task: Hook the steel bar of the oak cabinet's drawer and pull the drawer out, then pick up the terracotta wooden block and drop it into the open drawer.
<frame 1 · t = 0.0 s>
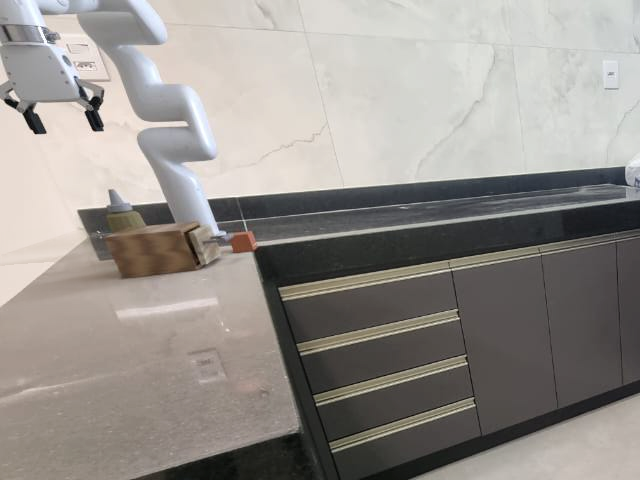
hand: (70, 132, 111), 31 cm above the counter, tool pointing down, fingers open, 9 cm apart
drawer: (188, 245, 130), point 5 cm above the counter, slide at 1.0 cm
squeeze bottle: (143, 260, 140), on the counter
block: (246, 250, 146), on the counter
cabinet: (171, 267, 131), on the counter
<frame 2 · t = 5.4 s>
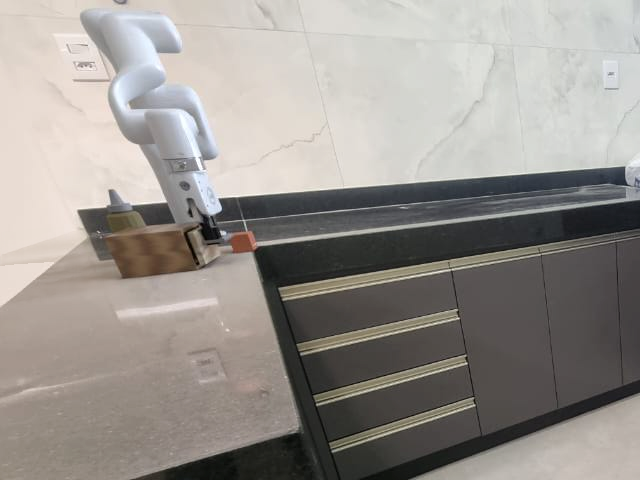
hand: (215, 243, 132), 5 cm above the counter, tool pointing down, fingers closed
nothing on the counter moved.
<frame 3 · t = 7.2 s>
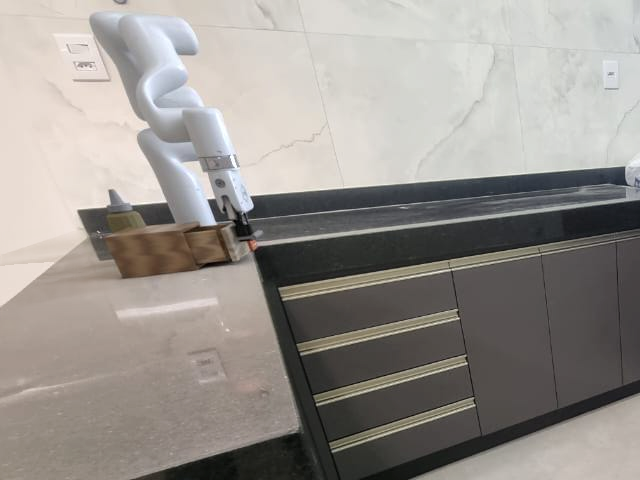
hand: (247, 240, 134), 5 cm above the counter, tool pointing down, fingers closed
drawer: (218, 242, 132), point 5 cm above the counter, slide at 7.5 cm, touching gripper
everything else where it was.
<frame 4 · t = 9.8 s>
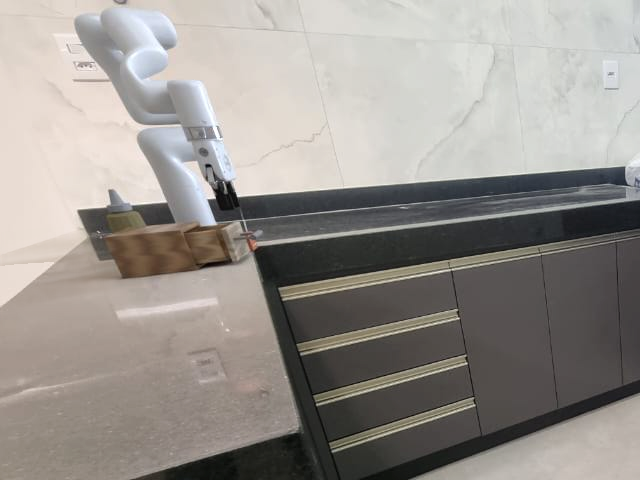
hand: (230, 208, 141), 11 cm above the counter, tool pointing down, fingers open, 4 cm apart
drawer: (218, 242, 132), point 5 cm above the counter, slide at 7.5 cm
everything else where it was.
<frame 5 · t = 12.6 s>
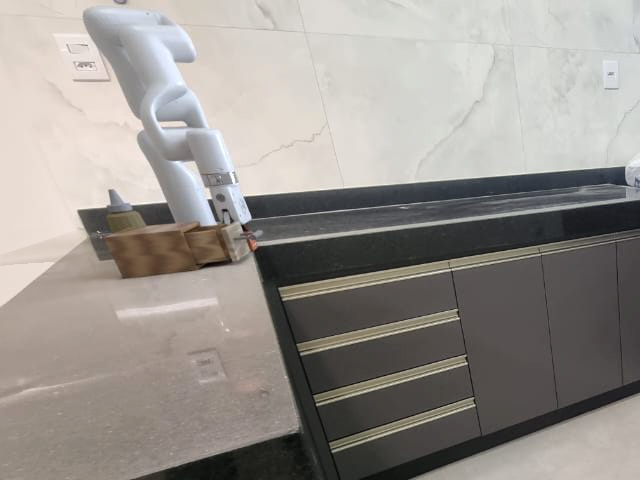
hand: (245, 248, 146), 0 cm above the counter, tool pointing down, fingers closed on block, 4 cm apart
block: (246, 250, 146), on the counter, touching gripper
everything else where it was.
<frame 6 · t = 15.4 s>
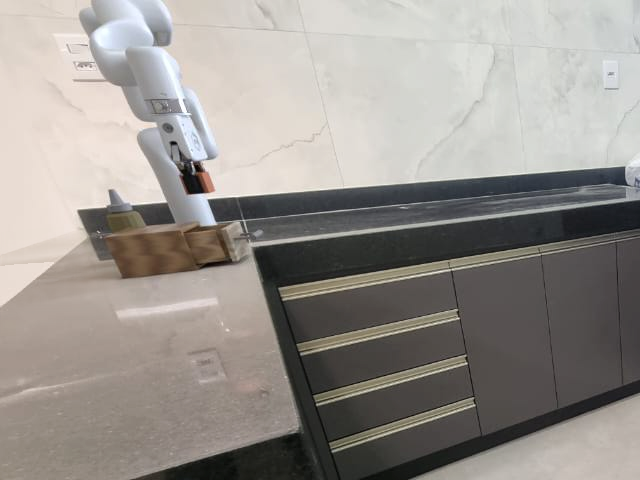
hand: (200, 191, 128), 17 cm above the counter, tool pointing down, fingers closed on block, 4 cm apart
block: (201, 193, 128), point 17 cm above the counter, touching gripper
everything else where it was.
when the fingers open (8 cm above the counter, at t = 18.7 s): block stays where it is, resting on drawer.
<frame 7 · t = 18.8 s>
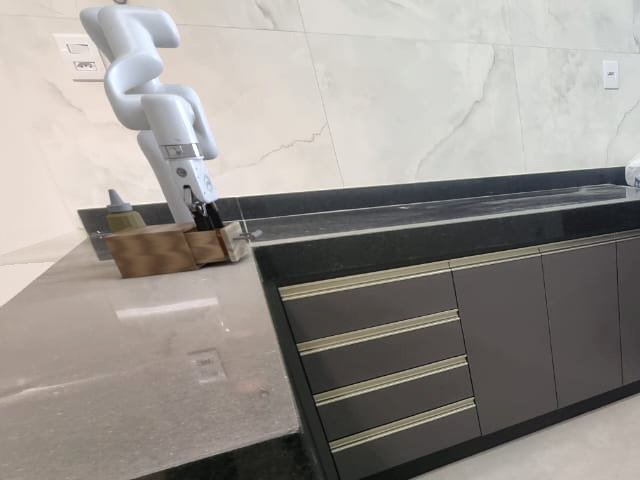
hand: (212, 229, 131), 8 cm above the counter, tool pointing down, fingers open, 5 cm apart
drawer: (218, 242, 132), point 5 cm above the counter, slide at 7.3 cm, touching block
block: (221, 253, 133), point 2 cm above the counter, touching drawer
everything else where it was.
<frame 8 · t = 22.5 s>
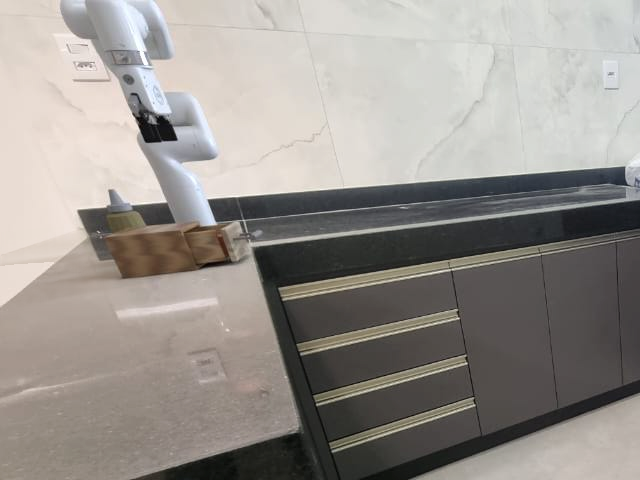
hand: (162, 141, 129), 28 cm above the counter, tool pointing down, fingers open, 9 cm apart
nothing on the counter moved.
at the end: drawer slide at 7.4 cm; block inside the target area in the drawer (0.9 cm from its centre), point 2.0 cm above the cabinet's base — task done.
